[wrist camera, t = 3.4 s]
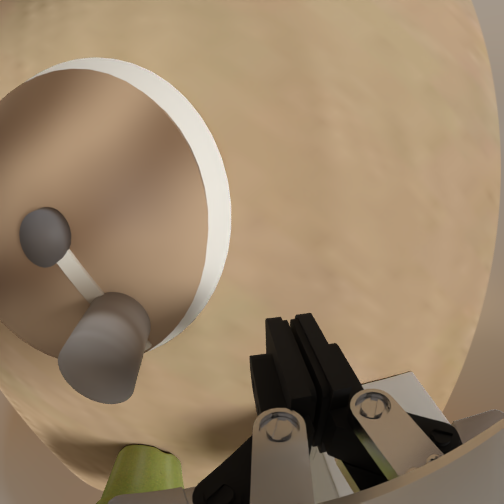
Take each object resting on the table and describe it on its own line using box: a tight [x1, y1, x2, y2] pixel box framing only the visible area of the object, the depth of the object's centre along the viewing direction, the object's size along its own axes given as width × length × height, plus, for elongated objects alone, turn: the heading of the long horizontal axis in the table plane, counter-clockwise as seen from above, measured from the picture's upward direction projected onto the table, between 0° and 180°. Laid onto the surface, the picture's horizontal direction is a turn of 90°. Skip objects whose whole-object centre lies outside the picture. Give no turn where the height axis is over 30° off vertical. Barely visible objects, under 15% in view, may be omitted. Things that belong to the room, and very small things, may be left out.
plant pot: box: [96, 445, 184, 504], centre depth 18 cm, size 9×9×9 cm
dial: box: [0, 69, 208, 404], centre depth 9 cm, size 14×14×5 cm
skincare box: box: [310, 371, 451, 504], centre depth 17 cm, size 10×6×10 cm, turn 90°
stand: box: [24, 58, 231, 351], centre depth 13 cm, size 16×16×2 cm
